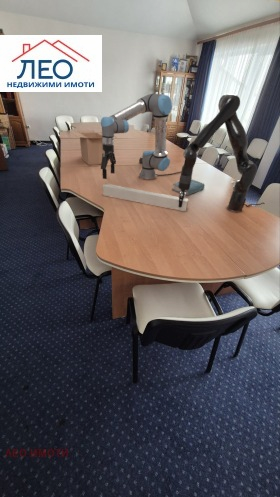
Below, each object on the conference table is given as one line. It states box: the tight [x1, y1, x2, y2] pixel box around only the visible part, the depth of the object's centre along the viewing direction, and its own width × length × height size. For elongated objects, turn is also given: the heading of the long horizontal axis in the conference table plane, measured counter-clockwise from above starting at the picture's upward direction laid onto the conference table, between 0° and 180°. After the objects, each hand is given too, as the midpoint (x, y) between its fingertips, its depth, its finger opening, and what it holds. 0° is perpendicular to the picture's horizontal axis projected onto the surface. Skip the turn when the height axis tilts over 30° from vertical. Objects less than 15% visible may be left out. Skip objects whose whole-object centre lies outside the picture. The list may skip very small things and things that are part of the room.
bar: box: [102, 183, 189, 212], centre depth 160 cm, size 63×5×8 cm, turn 72°
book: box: [171, 179, 205, 196], centre depth 185 cm, size 23×16×5 cm
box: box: [70, 129, 105, 166], centre depth 229 cm, size 44×36×27 cm
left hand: (108, 175), depth 159 cm, fingers open, 13 cm apart
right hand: (180, 205), depth 154 cm, fingers closed on bar, 5 cm apart
